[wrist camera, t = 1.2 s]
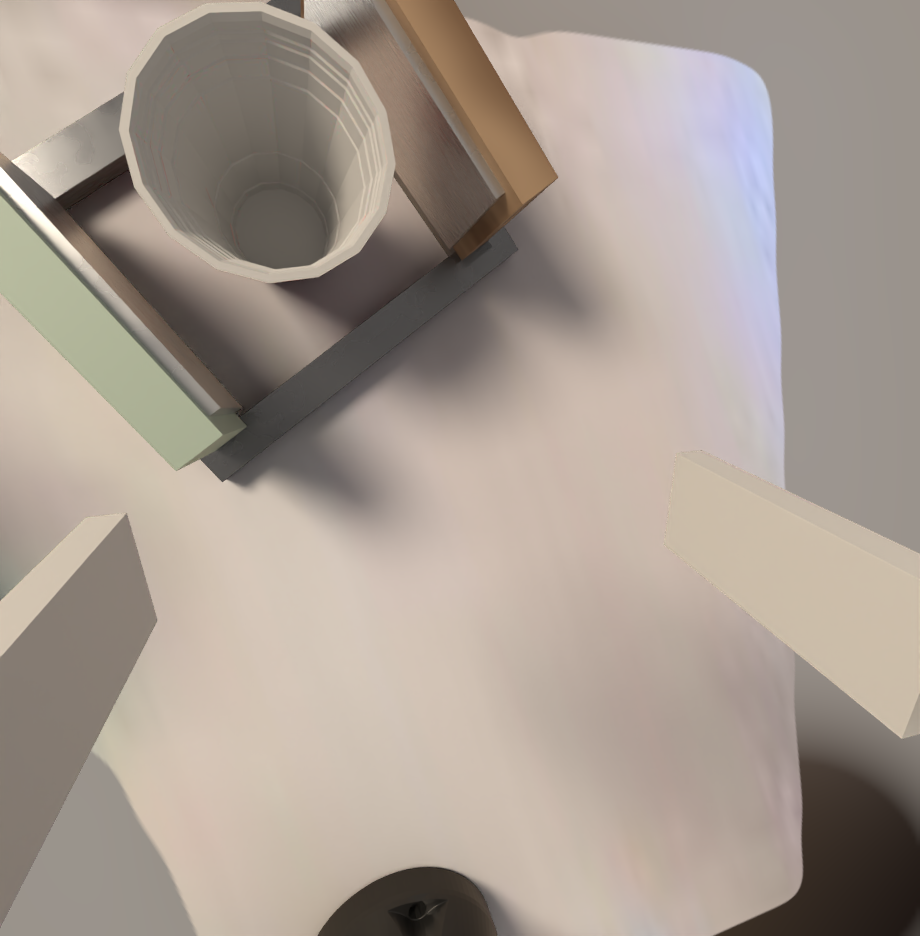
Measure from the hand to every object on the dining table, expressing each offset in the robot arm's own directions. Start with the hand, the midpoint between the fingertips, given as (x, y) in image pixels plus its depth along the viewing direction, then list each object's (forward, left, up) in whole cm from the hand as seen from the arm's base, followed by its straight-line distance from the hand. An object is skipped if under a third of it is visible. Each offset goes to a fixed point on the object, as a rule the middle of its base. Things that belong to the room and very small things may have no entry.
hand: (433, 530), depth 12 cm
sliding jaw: (-5, +13, -22) cm, 26 cm away
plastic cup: (+5, +13, -24) cm, 28 cm away
